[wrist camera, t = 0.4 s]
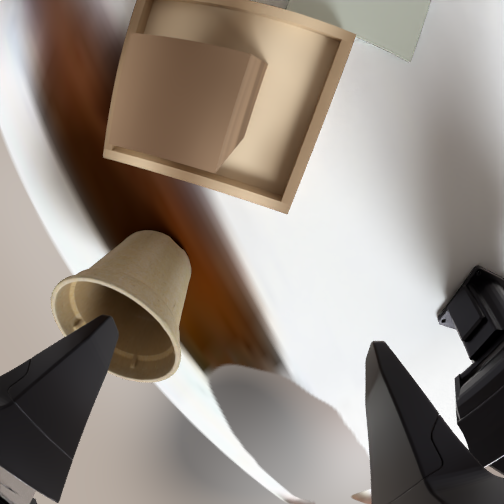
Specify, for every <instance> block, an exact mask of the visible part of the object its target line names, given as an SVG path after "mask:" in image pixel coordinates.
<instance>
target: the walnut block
mask: <svg viewBox="0 0 504 504" xmlns="http://www.w3.org/2000/svg"><path fill="white" fill-rule="evenodd" d="M267 66H268V64H267V63H265V62H264V61H262V60H260V59H259V58H257V57H255V56H254V55H252V54H249V53H246V52H242V51H238V50H234V49H229V48H225V47H221V46H216V45H211V44H206V43H201V42H196V41H190V40H185V39H178V38H172V37H165V36H157V35H149V34H140V33H131V35H130V39H129V43H128V47H127V51H126V55H125V59H124V63H123V67H122V71H121V76H120V80H119V85H118V90H117V95H116V101H115V106H114V112H113V118H112V124H111V130H110V137H109V144H111V145H115V146H119V147H123V148H126V149H130V150H134V151H138V152H142V153H145V154H149V155H153V156H156V157H160V158H163V159H167V160H170V161H174V162H177V163H181V164H184V165H188V166H191V167H194V168H198V169H201V170H204V171H208V172H211V173H214V174H215V173H216V172H217V170H218V169H219V168H220V167H221V165H222V164H223V163H224V162H225V160H226V159H227V158H228V157H229V155H230V154H231V153H232V152H233V150H234V149H235V148H236V147H237V146H238V144H239V143H240V142H241V141H242V140H243V138H244V136H245V133H246V130H247V127H248V124H249V121H250V117H251V114H252V111H253V108H254V105H255V102H256V99H257V96H258V93H259V90H260V87H261V84H262V81H263V78H264V75H265V72H266V69H267Z"/></svg>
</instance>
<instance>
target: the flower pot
mask: <svg viewBox="0 0 504 504" xmlns="http://www.w3.org/2000/svg"><path fill="white" fill-rule="evenodd" d="M190 276H191V266H190V262H189V258H188V256H187V254H186V252H185V251H184V250H183V249H182V248H180V247H179V246H178V245H177V244H176V243H175V242H174V241H173V240H172V239H171V238H170V237H169V236H167V235H165V234H163V233H161V232H157V231H152V230H143V231H138V232H135V233H133V234H132V235H130V236H129V237H127V238H126V239H125V240H124V241H123V242H122V243H120V244H119V245H118V246H117V247H115V248H114V249H113V250H112V251H110V252H109V253H108V254H107V255H105V256H104V257H103V258H102V259H100V260H99V261H98V262H97V263H95V264H94V265H93V266H92V267H90V268H89V269H87V270H84V271H81V272H79V273H78V274H76V275H73V276H69V277H67V278H65V279H63V280H62V281H60V282H59V283H58V285H57V286H56V287H55V288H54V290H53V292H52V297H51V309H52V313H53V316H54V319H55V322H56V323H57V325H58V327H59V329H60V331H61V332H62V334H63V335H64V337H66V336H67V335H69V334H71V333H72V332H74V331H75V330H77V329H79V328H80V327H82V326H84V325H85V324H87V323H88V322H90V321H92V320H93V319H95V318H97V317H98V316H100V315H103V314H104V315H109V316H112V317H113V319H114V322H115V324H116V327H117V329H118V332H119V337H118V341H117V344H116V347H115V350H114V353H113V356H112V359H111V362H110V365H109V368H108V371H107V372H108V373H110V374H112V375H115V376H118V377H120V378H123V379H126V380H131V381H137V382H158V381H162V380H165V379H167V378H169V377H170V376H172V375H173V374H174V373H175V372H176V371H177V369H178V367H179V364H180V360H181V349H180V345H179V329H178V328H179V323H180V318H181V314H182V309H183V305H184V300H185V296H186V292H187V288H188V283H189V280H190Z"/></svg>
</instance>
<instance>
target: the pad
mask: <svg viewBox="0 0 504 504" xmlns="http://www.w3.org/2000/svg"><path fill="white" fill-rule="evenodd" d="M430 2H431V0H289V2H288V5H287V7H286V10H289V11H292V12H296V13H299V14H302V15H305V16H308V17H311V18H314V19H317V20H320V21H323V22H326V23H328V24H331V25H334V26H337V27H339V28H342V29H344V30H347V31H349V32H352V33H354V34H356V37H357V38H360V39H362V40H364V41H366V42H369V43H371V44H373V45H375V46H377V47H379V48H382V49H384V50H386V51H388V52H390V53H392V54H394V55H396V56H398V57H400V58H402V59H403V60H405V61H407V62H411V59H412V56H413V53H414V51H415V48H416V45H417V42H418V39H419V36H420V33H421V30H422V27H423V24H424V21H425V18H426V15H427V12H428V9H429V5H430Z"/></svg>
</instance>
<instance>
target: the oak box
mask: <svg viewBox="0 0 504 504" xmlns="http://www.w3.org/2000/svg"><path fill="white" fill-rule="evenodd" d="M131 33H140V34H149V35H157V36H165V37H172V38H178V39H185V40H190V41H196V42H201V43H206V44H211V45H216V46H221V47H225V48H229V49H234V50H238V51H242V52H246V53H249V54H252V55H254V56H255V57H257V58H259V59H260V60H262V61H264V62H265V63H267V64H268V66H267V69H266V72H265V75H264V78H263V81H262V84H261V87H260V90H259V93H258V96H257V99H256V102H255V105H254V108H253V111H252V114H251V117H250V121H249V124H248V127H247V130H246V133H245V136H244V138H243V140H242V141H241V142H240V143H239V144H238V146H237V147H236V148H235V149H234V150H233V152H232V153H231V154H230V155H229V157H228V158H227V159H226V160H225V162H224V163H223V164H222V165H221V167H220V168H219V169H218V170H217V172H216V173H215V174H214V173H211V172H208V171H204V170H201V169H198V168H194V167H191V166H188V165H184V164H181V163H177V162H174V161H170V160H167V159H163V158H160V157H156V156H153V155H149V154H145V153H142V152H138V151H134V150H130V149H126V148H123V147H119V146H115V145H111V144H109V137H110V130H111V124H112V118H113V112H114V106H115V101H116V95H117V90H118V85H119V80H120V76H121V71H122V67H123V63H124V59H125V55H126V51H127V47H128V43H129V39H130V35H131ZM355 37H356V34H354V33H352V32H349V31H347V30H344V29H342V28H339V27H337V26H334V25H331V24H328V23H326V22H323V21H320V20H317V19H314V18H311V17H308V16H305V15H302V14H299V13H296V12H292V11H289V10H285V9H282V8H278V7H274V6H271V5H267V4H263V3H258V2H254V1H250V0H137V1H136V4H135V7H134V10H133V13H132V17H131V20H130V23H129V27H128V30H127V34H126V37H125V41H124V45H123V49H122V53H121V57H120V61H119V65H118V70H117V74H116V79H115V84H114V89H113V94H112V99H111V105H110V110H109V117H108V123H107V130H106V137H105V144H104V152H103V158H107V159H111V160H114V161H118V162H122V163H125V164H129V165H132V166H136V167H139V168H143V169H146V170H150V171H153V172H157V173H160V174H163V175H167V176H170V177H173V178H177V179H180V180H183V181H187V182H190V183H193V184H196V185H200V186H203V187H206V188H209V189H212V190H216V191H219V192H222V193H225V194H228V195H231V196H234V197H237V198H240V199H243V200H246V201H249V202H252V203H255V204H258V205H261V206H264V207H267V208H270V209H273V210H276V211H279V212H282V213H285V214H288V212H289V209H290V207H291V204H292V202H293V199H294V197H295V194H296V191H297V189H298V186H299V184H300V181H301V179H302V176H303V174H304V171H305V169H306V166H307V164H308V161H309V158H310V156H311V153H312V151H313V148H314V146H315V143H316V140H317V138H318V135H319V133H320V130H321V128H322V125H323V122H324V120H325V117H326V114H327V112H328V109H329V107H330V104H331V101H332V99H333V96H334V93H335V91H336V88H337V85H338V83H339V80H340V77H341V75H342V72H343V69H344V67H345V64H346V61H347V59H348V56H349V53H350V51H351V48H352V45H353V42H354V40H355Z"/></svg>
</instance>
